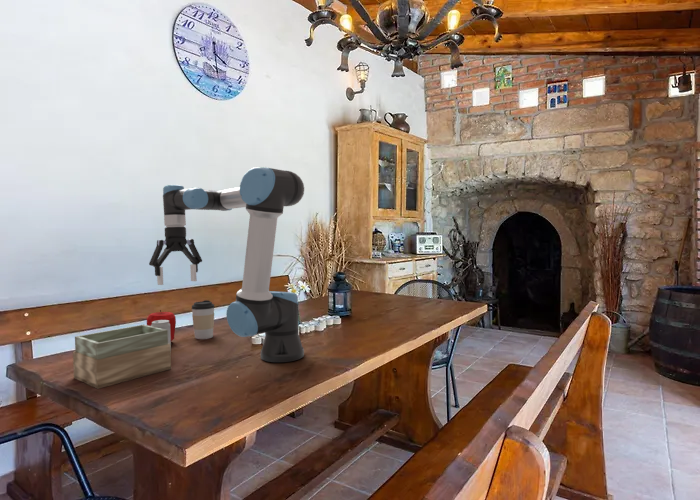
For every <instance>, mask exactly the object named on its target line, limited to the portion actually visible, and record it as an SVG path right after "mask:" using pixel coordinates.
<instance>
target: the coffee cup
mask: <svg viewBox="0 0 700 500" xmlns="http://www.w3.org/2000/svg"><path fill="white" fill-rule="evenodd" d="M191 312H192V314H191V315H192V325H193V332H194V338H195V339H197V340H209V339H211V338H213V337H214V327H215V326H214V325H215V324H214V323H215V304H214V303H213V302H212V301H210V300H209V299H208V300H207V299H205V300H202V301H196V302H194V303H193V304H192V305H191Z"/></svg>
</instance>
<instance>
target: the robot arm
mask: <svg viewBox="0 0 700 500" xmlns="http://www.w3.org/2000/svg"><path fill="white" fill-rule="evenodd" d="M162 193H163V194H162V202H163V203H162V205H163V217H164V218H163V220H164V221H163V223H164V226H165V228H164V237H165V240H163V239H157V240H156V247H155V248H154V252H153V253H152V256H151V258H150V260H149V263H148V264H149V266H152V267H154V275H155V276H156V277H157V280H156V281H157V285H158V286H163V285H164V271H163V270H164V267H163V266H162V265H163V263H164V261H166V259H167V257H168V256H169V255H170V253H172V252H182V253H183V255H184V256H186V258H187V259H188V260H189V261H190V265H189V266H190V282H197V273H198V272H199V268H198V266H199V264H200V263H202V262H203V259H202V257H201V254H200V253H199V251H198V248H197V247H196V245H195V240H194V239H193V238H188V239H187V238H186V237H187V228H186V227H185V226H187V225H186V224H187V223H186V221H187V220H186V211H187V210H201V211H203V210H204V211H220V212H221V211H222V212H227V211H231V210H233V209H240V208H245V210H246V211H247V212H248V215H249V220H248V221H249V222H248V230H247V238H246V239H247V240H246V248H245V256H244V264H243V265H244V267H243V275H242V285H241V288H240V289H239V290H237V292H236V296H235V301H232V302H231V303H230V304H229V305H228V306H227V309H226V313H225V314H226V321H227V324H228V326H229V328H230V330H231V331H232V332H233V333H234V334H235V335H236V336H239V337H240V338H247V337H254V336H256V335H259V334H262V333H264V335H265V336H264V339H263V344H262V348H261V349H260V360H262V361H265V362H268V363H270V362H271V363H289V362H294V361H297V360H300V359H302V358H303V357H304V356H305V348H304V347H303V344H302V341H301V338H300V334H299V299H298V298H299V297H298V295H297V293H296V292H289V291H273V290H272V291H271V290H270V283H271V276H272V267H273V257H274V250H275V249H274V247H275V243H276V242H275V241H276V232H277V223H278V219H279V217H280V216H282V215H283V212H284V207H293V206H295V205H297V204H298V203H299V202H301V200H302V199H303V197H304V194H305V183H304V182H303V179H301V177H300V176H299V175H298V174H297V173H295V172H293V171H290V170H282V169H278V168H272V167H267V166H265V167H264V166H263V167H262V166H256V167H255V166H254V167H252V168H250V169H248V171H247V172H245V173H244V175H243V176H242V178H241V180H240V184H239V187H234V188H227V189H220V190H212V189H211V190H210V189H203V188H201V187H190V188H185V187H184V186H183V185H180V184H167V185H164V186H163V188H162ZM164 246H166V247H165V248H164ZM187 246H188V247H187ZM163 248H164V250H163ZM162 250H163V252H162ZM161 252H162V253H161ZM191 263H192V264H191Z"/></svg>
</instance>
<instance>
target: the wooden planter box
mask: <svg viewBox="0 0 700 500" xmlns="http://www.w3.org/2000/svg"><path fill="white" fill-rule="evenodd" d="M171 352H172V351H171ZM171 352H170V344H168V330H165V329H161V328H157V327H152V326H148V325H147V324H139V325H133V326H127V327H122V328H117V329H115V328H114V329H110V330H103V331H99V332H98V331H97V332H93V333H87V334H83V335H76V336H74V351H72V360H73V361H72V364H73V365H72V366H73V378H74V379H75V380H77V381H80V382H82V383H83V384H84V383H85V385H88V386H90V387H93V388H95V389H97V390H98V389H102V388H106V387H110V386H113V385H117V384H121V383H124V382H128V381H132V380H136V379H138V378H139V379H140V378H142V377H147V376H151V375H153V374H157V373H161V372H165V371H169V370H171V369H172V362H171V361H172V359H171V357H172V355H171Z"/></svg>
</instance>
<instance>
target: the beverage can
mask: <svg viewBox="0 0 700 500" xmlns="http://www.w3.org/2000/svg"><path fill="white" fill-rule="evenodd" d="M151 326H152V327H157V328H161V329H165V330H168V344H170V352H172V347H171V345H172V343H171V342H172V341H171V334H170V323H169V320H157V321H153V322H152V325H151Z"/></svg>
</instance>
